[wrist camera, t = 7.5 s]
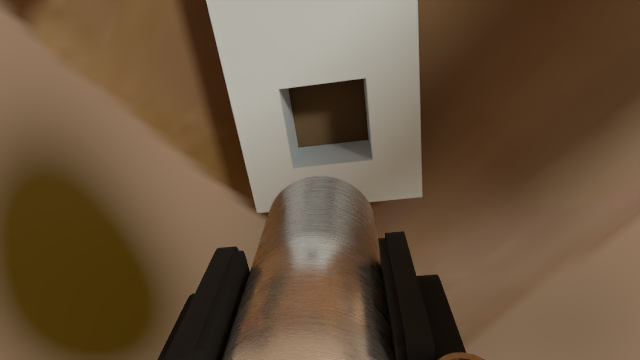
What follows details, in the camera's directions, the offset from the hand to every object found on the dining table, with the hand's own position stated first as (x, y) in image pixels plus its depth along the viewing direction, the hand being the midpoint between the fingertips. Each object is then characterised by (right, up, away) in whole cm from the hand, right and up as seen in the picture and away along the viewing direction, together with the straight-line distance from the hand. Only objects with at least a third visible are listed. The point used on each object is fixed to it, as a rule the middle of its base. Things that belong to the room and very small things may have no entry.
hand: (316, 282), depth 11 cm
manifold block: (0, +13, +15) cm, 20 cm away
